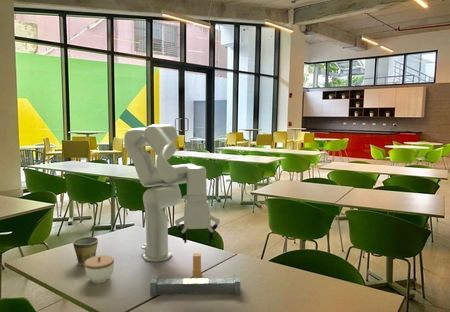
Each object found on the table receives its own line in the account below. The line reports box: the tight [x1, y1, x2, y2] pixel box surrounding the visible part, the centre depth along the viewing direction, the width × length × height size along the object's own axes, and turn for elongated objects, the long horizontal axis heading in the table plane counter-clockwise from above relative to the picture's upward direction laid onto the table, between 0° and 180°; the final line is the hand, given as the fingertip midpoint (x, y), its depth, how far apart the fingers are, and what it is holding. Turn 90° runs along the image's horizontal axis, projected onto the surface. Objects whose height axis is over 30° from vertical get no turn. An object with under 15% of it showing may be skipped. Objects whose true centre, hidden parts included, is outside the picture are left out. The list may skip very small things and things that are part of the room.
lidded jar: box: [84, 255, 114, 284], centre depth 142 cm, size 11×11×9 cm
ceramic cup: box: [72, 236, 99, 267], centre depth 159 cm, size 13×10×10 cm
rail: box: [149, 273, 241, 297], centre depth 133 cm, size 32×6×5 cm, turn 92°
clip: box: [192, 252, 202, 278], centre depth 144 cm, size 8×3×10 cm, turn 2°
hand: (197, 241), depth 142 cm, fingers open, 9 cm apart
